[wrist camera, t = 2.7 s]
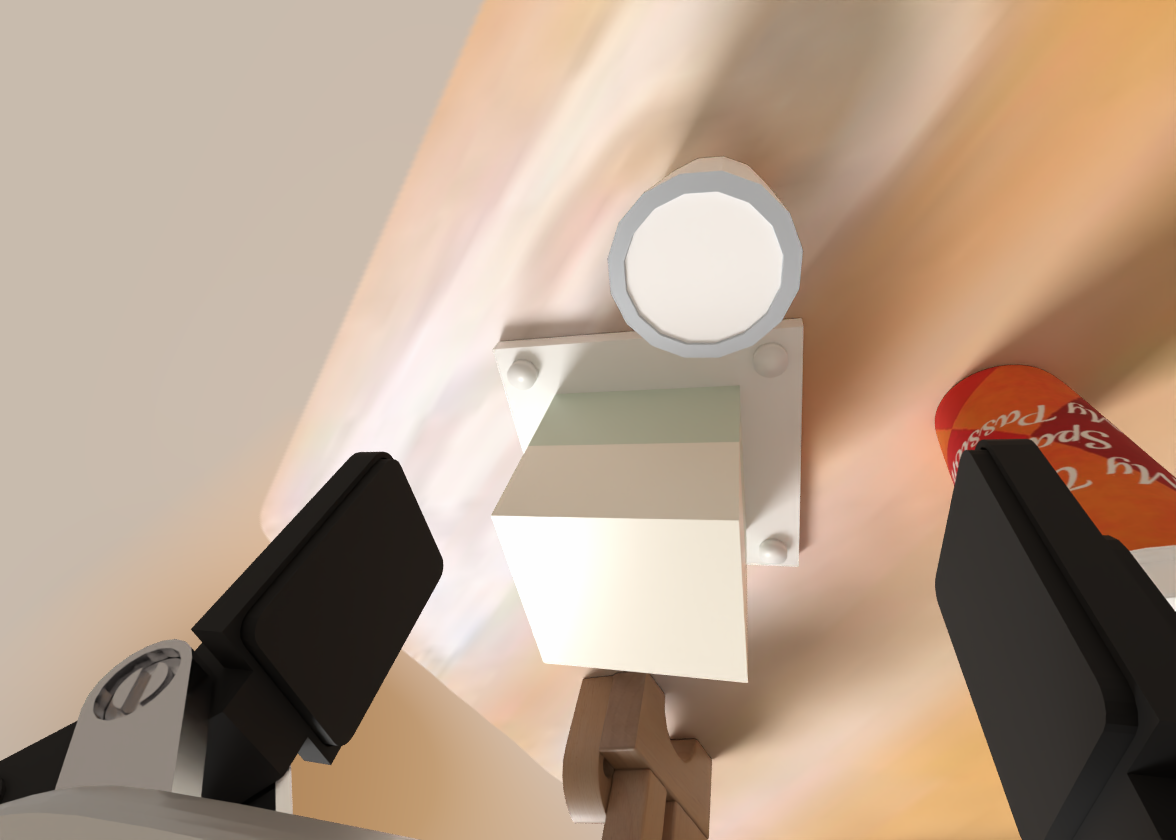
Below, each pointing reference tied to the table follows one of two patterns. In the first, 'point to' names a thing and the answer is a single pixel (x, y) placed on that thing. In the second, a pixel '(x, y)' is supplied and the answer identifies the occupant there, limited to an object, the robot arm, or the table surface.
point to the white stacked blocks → (649, 495)
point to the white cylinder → (705, 260)
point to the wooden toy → (634, 764)
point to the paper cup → (1071, 457)
